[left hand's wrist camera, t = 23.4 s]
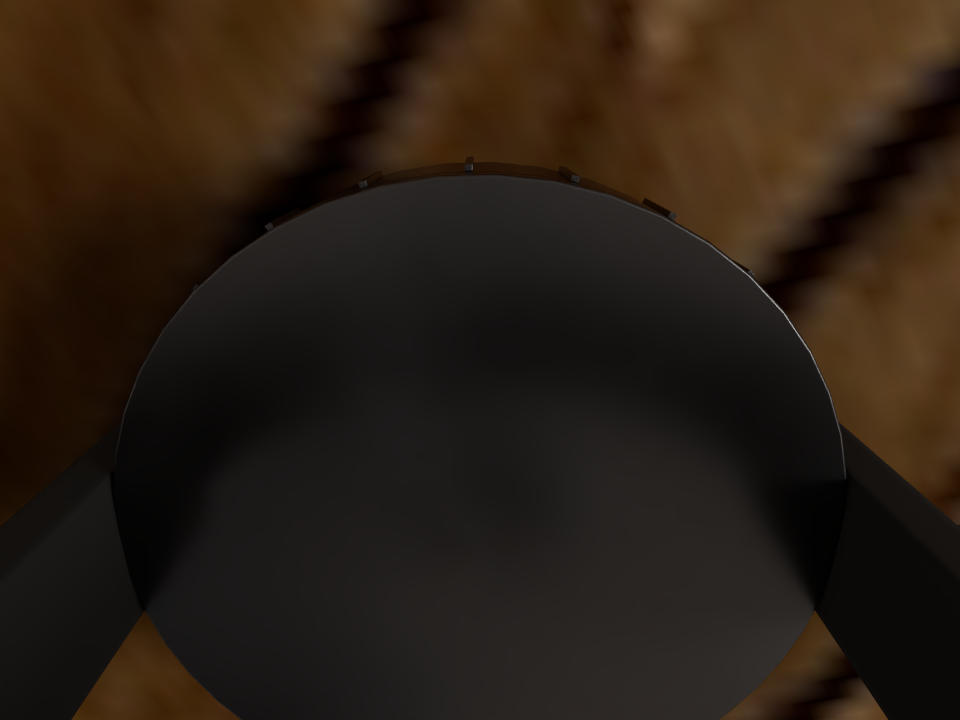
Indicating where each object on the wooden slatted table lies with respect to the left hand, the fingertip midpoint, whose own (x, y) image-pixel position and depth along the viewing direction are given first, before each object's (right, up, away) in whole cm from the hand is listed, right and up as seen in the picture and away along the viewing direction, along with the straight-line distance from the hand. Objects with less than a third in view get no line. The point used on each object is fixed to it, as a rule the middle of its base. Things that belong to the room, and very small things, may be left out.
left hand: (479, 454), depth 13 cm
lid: (0, -1, -3) cm, 3 cm away
